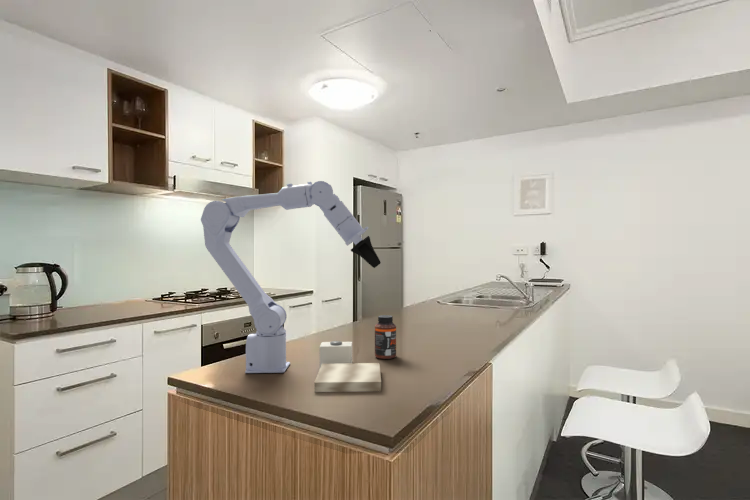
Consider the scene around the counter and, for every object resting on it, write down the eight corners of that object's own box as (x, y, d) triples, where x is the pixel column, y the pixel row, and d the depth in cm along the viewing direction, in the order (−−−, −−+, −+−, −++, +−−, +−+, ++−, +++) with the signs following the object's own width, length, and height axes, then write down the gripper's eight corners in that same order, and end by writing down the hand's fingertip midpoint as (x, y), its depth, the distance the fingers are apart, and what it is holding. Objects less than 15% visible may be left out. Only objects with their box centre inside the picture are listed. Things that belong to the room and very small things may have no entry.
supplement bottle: (394, 360, 110) (394, 318, 110) (372, 359, 111) (372, 317, 111) (397, 354, 116) (397, 314, 115) (377, 353, 117) (376, 314, 117)
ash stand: (314, 392, 86) (314, 382, 86) (322, 371, 100) (322, 363, 100) (381, 391, 86) (381, 381, 86) (379, 371, 100) (379, 363, 100)
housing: (319, 368, 103) (319, 344, 103) (322, 362, 108) (321, 340, 108) (351, 367, 104) (351, 344, 104) (352, 362, 109) (352, 339, 109)
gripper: (355, 210, 96) (391, 256, 97) (357, 214, 111) (388, 253, 111) (332, 229, 96) (367, 274, 97) (336, 230, 111) (367, 269, 111)
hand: (377, 264), depth 104 cm, fingers open, 7 cm apart
